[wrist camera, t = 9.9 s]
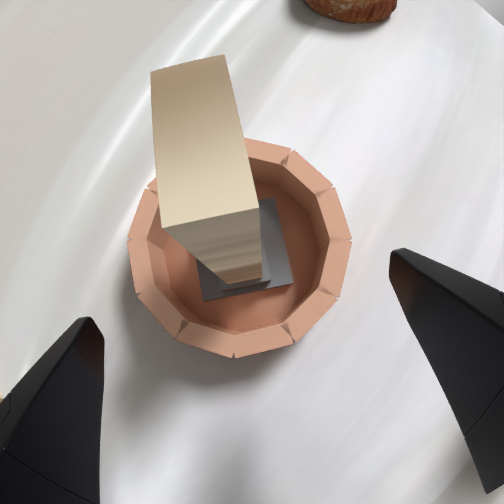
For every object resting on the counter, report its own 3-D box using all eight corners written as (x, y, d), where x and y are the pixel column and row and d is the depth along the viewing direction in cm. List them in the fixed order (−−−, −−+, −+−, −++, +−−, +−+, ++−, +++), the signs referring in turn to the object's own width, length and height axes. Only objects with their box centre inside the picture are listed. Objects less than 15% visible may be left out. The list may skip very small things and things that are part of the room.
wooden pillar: (292, 284, 18) (351, 217, 6) (205, 301, 18) (89, 270, 6) (273, 201, 19) (285, 33, 7) (191, 218, 19) (92, 78, 7)
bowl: (238, 385, 18) (233, 400, 14) (119, 251, 19) (93, 239, 16) (369, 253, 19) (390, 240, 15) (243, 137, 21) (240, 106, 17)
